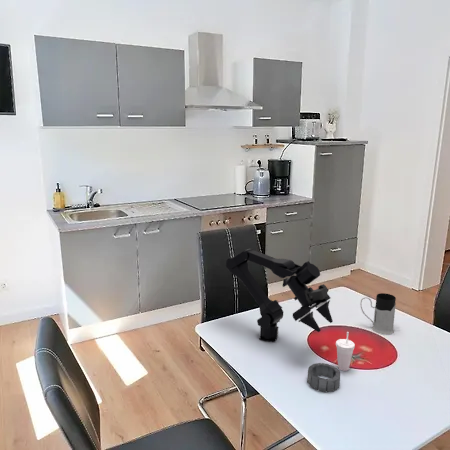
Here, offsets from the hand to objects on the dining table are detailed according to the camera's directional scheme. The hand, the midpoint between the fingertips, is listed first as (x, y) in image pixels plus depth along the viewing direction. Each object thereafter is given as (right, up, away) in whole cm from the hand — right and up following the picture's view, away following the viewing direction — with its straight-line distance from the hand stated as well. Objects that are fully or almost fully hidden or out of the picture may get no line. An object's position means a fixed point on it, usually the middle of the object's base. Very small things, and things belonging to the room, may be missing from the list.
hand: (325, 326), depth 146 cm
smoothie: (+6, -14, -2) cm, 16 cm away
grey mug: (+28, -8, +27) cm, 40 cm away
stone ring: (-3, -16, -10) cm, 19 cm away
